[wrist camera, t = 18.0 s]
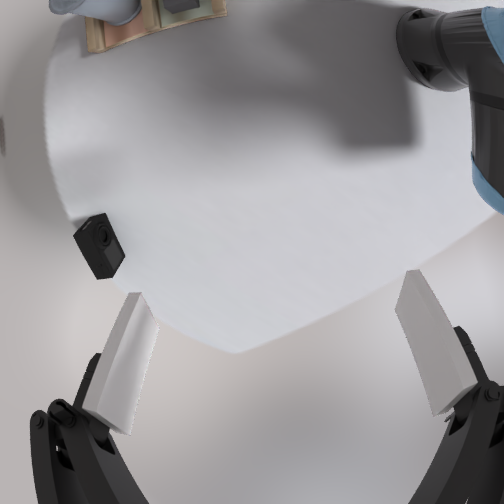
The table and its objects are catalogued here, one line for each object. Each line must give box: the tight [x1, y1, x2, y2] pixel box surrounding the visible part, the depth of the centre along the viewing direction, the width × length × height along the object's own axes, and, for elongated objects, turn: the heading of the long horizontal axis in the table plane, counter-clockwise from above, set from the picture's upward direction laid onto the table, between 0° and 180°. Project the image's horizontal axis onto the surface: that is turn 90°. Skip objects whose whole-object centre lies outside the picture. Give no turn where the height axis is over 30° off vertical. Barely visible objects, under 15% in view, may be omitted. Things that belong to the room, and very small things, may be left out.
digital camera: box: [73, 213, 125, 280], centre depth 46 cm, size 10×5×7 cm, turn 11°
